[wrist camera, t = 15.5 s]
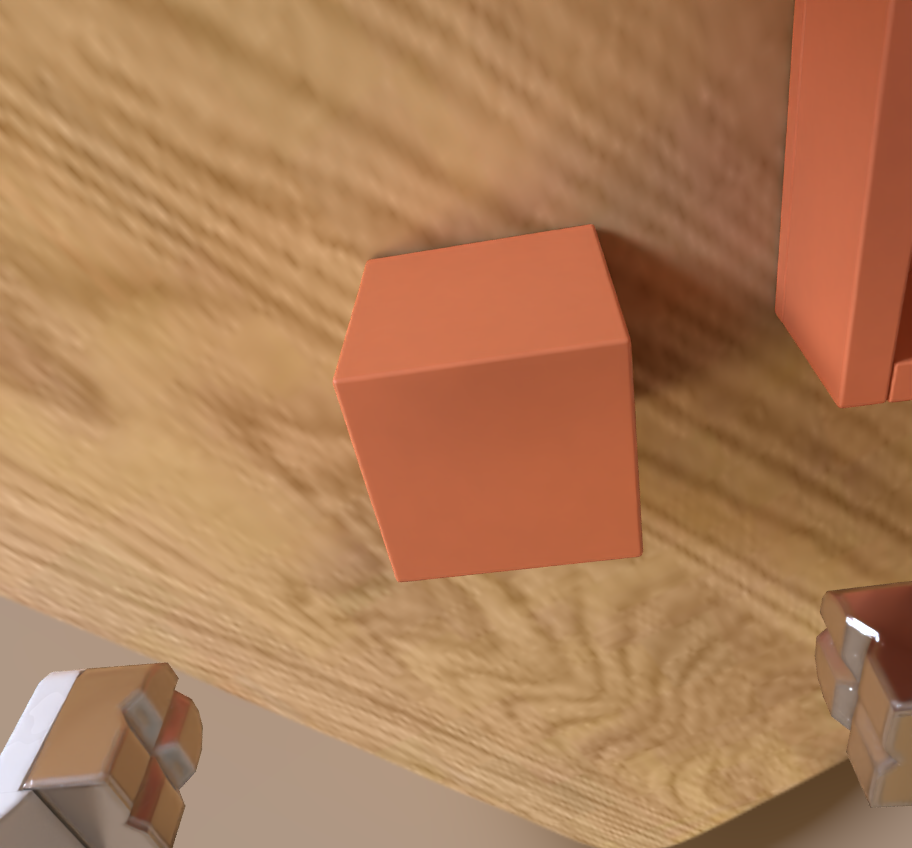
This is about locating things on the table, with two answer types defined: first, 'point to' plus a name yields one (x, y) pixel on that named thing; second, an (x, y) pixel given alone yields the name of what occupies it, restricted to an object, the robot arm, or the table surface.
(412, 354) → the block
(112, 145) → the table surface
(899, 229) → the terracotta bin
